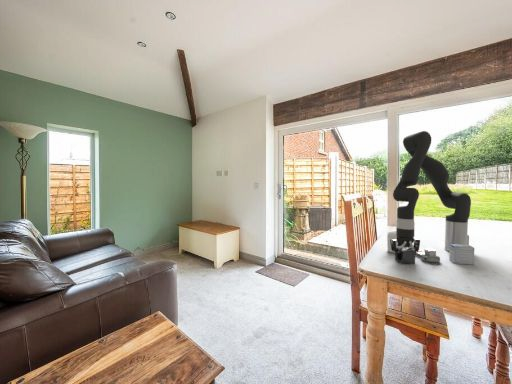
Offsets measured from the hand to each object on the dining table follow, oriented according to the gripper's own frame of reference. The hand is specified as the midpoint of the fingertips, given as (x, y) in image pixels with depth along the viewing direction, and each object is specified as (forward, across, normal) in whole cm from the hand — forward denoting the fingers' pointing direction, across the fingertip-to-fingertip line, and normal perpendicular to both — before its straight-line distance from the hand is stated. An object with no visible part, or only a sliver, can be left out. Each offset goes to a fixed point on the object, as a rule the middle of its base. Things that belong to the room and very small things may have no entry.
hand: (404, 259), depth 110 cm
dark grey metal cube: (+1, 0, 0) cm, 1 cm away
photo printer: (+2, -5, -13) cm, 14 cm away
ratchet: (+1, -13, -5) cm, 14 cm away
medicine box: (+2, -26, +3) cm, 26 cm away
